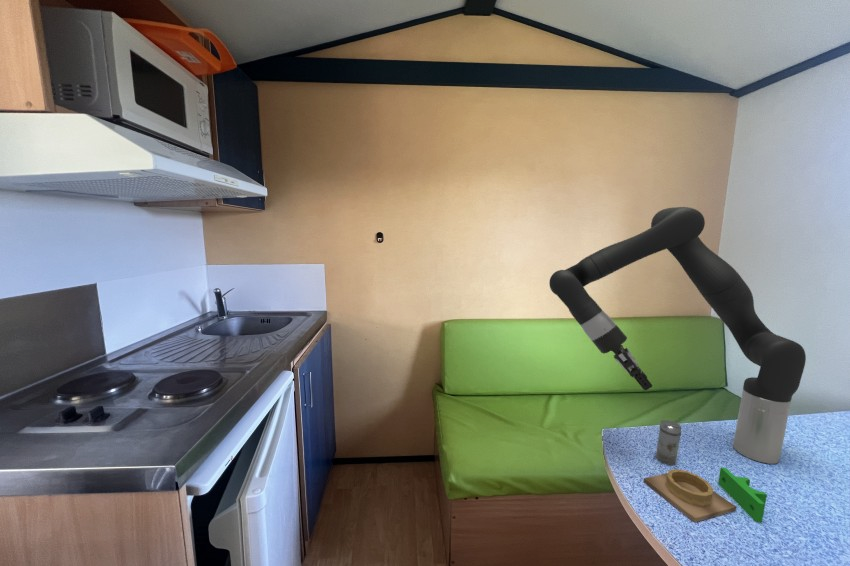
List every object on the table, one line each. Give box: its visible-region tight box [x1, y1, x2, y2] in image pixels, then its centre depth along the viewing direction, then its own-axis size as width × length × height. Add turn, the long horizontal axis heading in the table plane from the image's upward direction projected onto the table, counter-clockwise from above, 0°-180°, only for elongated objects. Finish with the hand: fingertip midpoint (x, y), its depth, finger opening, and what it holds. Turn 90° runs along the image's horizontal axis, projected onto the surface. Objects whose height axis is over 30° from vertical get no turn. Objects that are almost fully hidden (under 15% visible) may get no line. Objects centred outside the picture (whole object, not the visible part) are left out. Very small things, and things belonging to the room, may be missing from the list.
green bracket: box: [717, 466, 768, 523], centre depth 77 cm, size 11×4×5 cm, turn 173°
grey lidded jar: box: [655, 419, 682, 467], centre depth 91 cm, size 5×5×10 cm
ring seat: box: [643, 468, 737, 523], centre depth 79 cm, size 12×12×4 cm
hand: (646, 384), depth 89 cm, fingers open, 8 cm apart
